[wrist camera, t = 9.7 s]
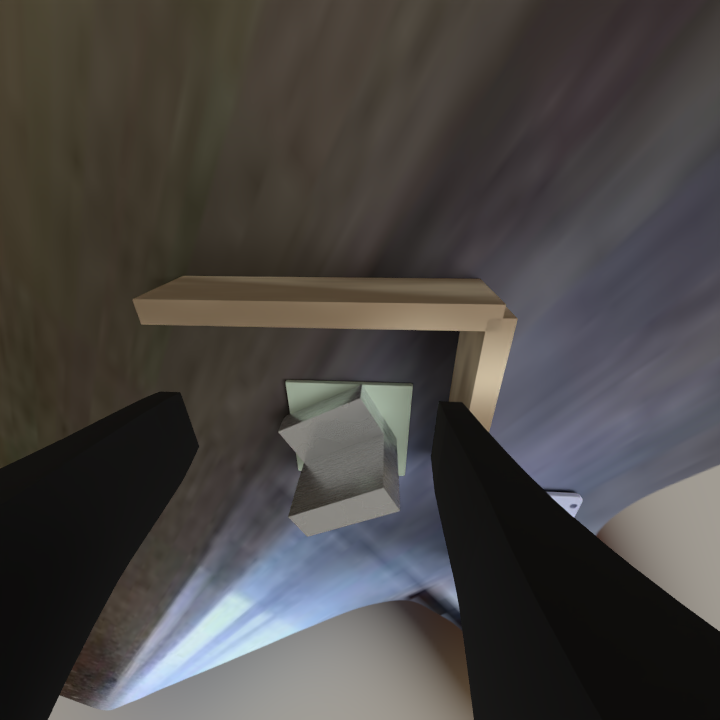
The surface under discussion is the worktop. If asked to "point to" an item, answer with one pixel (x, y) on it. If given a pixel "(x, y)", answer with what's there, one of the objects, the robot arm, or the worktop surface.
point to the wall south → (482, 368)
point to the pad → (385, 396)
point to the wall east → (324, 303)
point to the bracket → (342, 462)
